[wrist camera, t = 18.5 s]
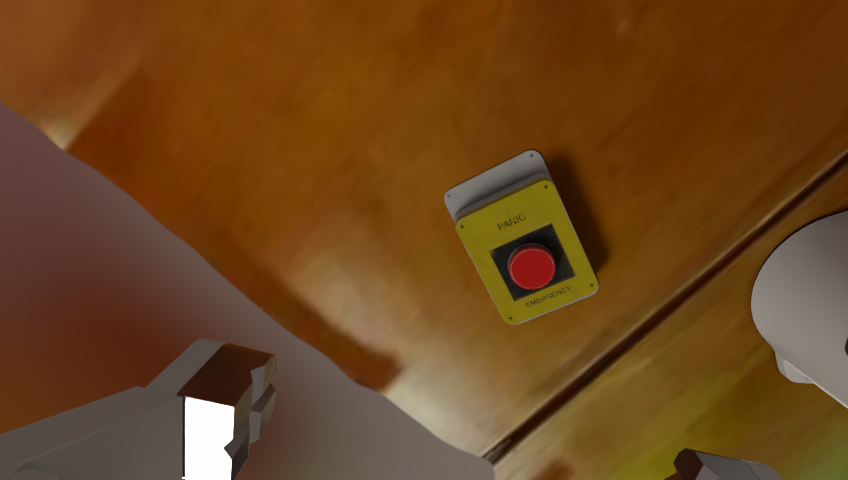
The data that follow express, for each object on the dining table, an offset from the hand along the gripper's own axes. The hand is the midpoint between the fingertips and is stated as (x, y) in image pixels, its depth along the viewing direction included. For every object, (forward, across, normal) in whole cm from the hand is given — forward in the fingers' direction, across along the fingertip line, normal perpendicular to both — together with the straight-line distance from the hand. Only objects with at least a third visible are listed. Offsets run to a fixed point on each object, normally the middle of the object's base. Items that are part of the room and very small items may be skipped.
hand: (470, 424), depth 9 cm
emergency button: (+32, -6, +6) cm, 33 cm away
